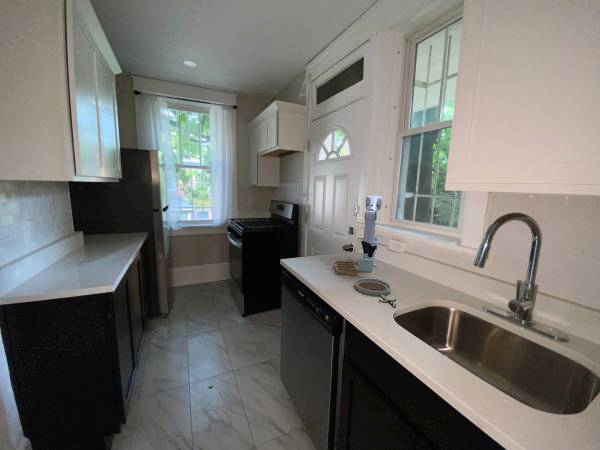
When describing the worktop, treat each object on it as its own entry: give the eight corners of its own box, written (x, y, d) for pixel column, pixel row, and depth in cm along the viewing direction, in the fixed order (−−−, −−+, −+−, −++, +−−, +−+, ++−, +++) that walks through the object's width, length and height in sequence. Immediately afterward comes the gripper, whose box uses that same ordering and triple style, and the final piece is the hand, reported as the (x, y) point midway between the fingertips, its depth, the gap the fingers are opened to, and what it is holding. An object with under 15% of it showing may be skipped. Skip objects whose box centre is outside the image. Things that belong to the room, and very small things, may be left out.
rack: (334, 266, 153) (335, 260, 153) (353, 267, 153) (353, 261, 152) (336, 274, 140) (337, 268, 139) (356, 275, 139) (357, 268, 139)
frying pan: (376, 304, 100) (349, 277, 127) (376, 311, 101) (349, 283, 128) (414, 301, 104) (380, 276, 131) (413, 308, 104) (379, 281, 131)
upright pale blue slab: (357, 270, 148) (358, 258, 147) (371, 270, 148) (372, 259, 146) (358, 271, 146) (359, 259, 145) (372, 272, 145) (373, 260, 144)
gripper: (358, 229, 148) (357, 251, 150) (366, 234, 134) (365, 259, 136) (370, 229, 149) (368, 251, 151) (379, 234, 134) (377, 259, 137)
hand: (367, 255), depth 144 cm, fingers open, 7 cm apart
